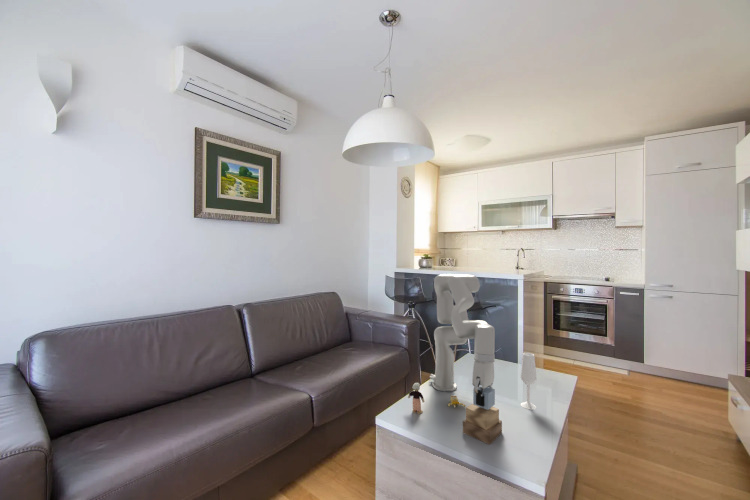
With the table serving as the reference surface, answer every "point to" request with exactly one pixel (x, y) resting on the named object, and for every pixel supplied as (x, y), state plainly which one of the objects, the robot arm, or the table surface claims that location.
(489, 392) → the blue cube
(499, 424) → the tower bottom
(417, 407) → the grandmother figurine
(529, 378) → the champagne flute
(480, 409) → the tower top
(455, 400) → the character toy
